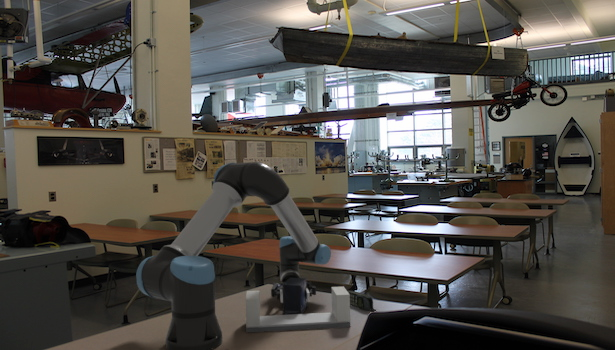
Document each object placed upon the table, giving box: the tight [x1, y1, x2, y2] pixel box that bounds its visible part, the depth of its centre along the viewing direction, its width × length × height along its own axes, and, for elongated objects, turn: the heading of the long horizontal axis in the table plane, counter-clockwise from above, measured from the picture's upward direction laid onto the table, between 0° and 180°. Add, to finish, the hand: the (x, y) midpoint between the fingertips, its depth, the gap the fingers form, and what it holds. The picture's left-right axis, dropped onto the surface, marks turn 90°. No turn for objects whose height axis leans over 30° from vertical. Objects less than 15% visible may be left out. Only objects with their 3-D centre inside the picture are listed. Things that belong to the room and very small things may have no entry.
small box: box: [282, 277, 307, 315], centre depth 150 cm, size 11×6×10 cm, turn 170°
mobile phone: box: [347, 290, 377, 312], centre depth 154 cm, size 5×3×15 cm
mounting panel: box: [245, 311, 351, 333], centre depth 138 cm, size 31×10×2 cm, turn 96°
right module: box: [331, 285, 351, 322], centre depth 139 cm, size 4×10×8 cm, turn 6°
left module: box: [245, 289, 261, 327], centre depth 137 cm, size 4×10×8 cm, turn 6°
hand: (295, 297), depth 146 cm, fingers closed on small box, 8 cm apart
